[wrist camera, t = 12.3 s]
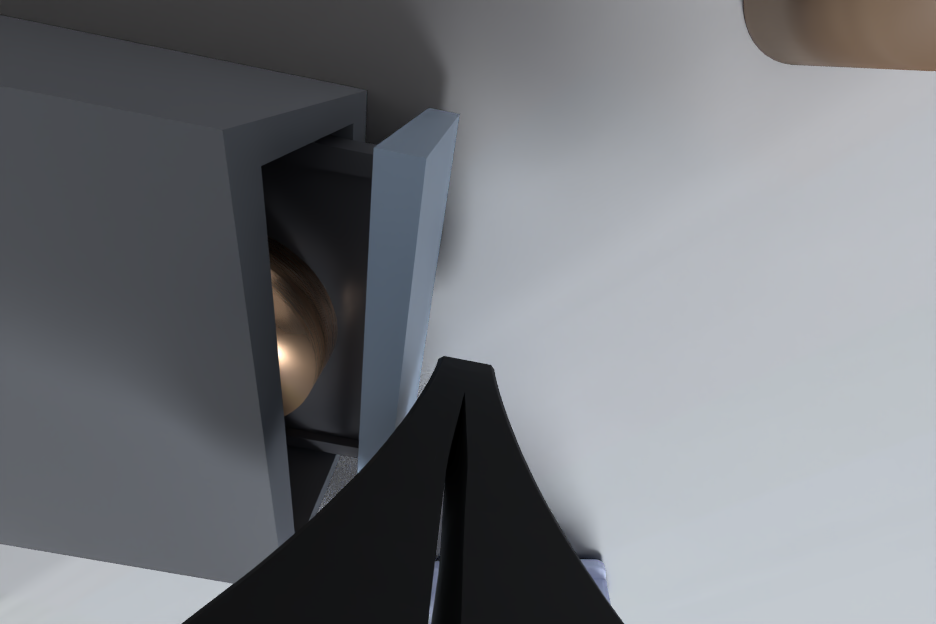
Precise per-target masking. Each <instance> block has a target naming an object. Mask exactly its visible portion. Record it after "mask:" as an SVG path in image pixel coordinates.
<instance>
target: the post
mask: <svg viewBox="0 0 936 624" xmlns="http://www.w3.org/2000/svg"><path fill="white" fill-rule="evenodd" d="M744 15H745V21H746V25H747V28H748V31H749V34H750V36H751V38H752V40H753V42H754V43H755V44H756V46H757V47H758V48H759V49H760V50H761V51H762V52H763V53H764V54H765V55H767V56H768V57H770V58H772V59H773V60H776V61H778V62H781V63H785V64H790V65H808V66H831V67H853V68H875V69H898V70H920V71H936V0H744Z"/></svg>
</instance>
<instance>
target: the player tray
mask: <svg viewBox="0 0 936 624" xmlns="http://www.w3.org/2000/svg"><path fill="white" fill-rule="evenodd" d="M459 115H460V114H457V113H452V112H448V111H443V110H438V109H433V108H428V109H427V110H425V111H424V112H422V113H421V114H420V115H418V116H417V117H415V118H414V119H413V120H411V121H410V122H409V123H407V124H406V125H404V126H403V127H402V128H400V129H399V130H397V131H396V132H395V133H393V134H392V135H391V136H389V137H388V138H386V139H385V140H384V141H382V142H381V143H379V144H378V145H375V144H370V143H365V142H360V141H355V140H350V139H345V138H340V137H335V136H330V135H327V136H325V137H322V138H320V139H318V140H316V141H314V142H312V143H310V144H307V145H305V146H303V147H301V148H299V149H297V150H295V151H292V152H290V153H288V154H286V155H284V156H282V157H280V158H277V159H275V160H273V161H271V162H269V163H267V164H265V165H262V166H261V171H262V182H263V193H264V204H265V215H266V225H267V236H269V237H271V238H272V239H274V240H276V241H277V242H279V243H281V244H282V245H284V246H285V247H287V248H288V249H289V250H291V251H292V252H293V253H294V254H296V255H297V256H298V257H299V258H300V259H301V260H302V261H303V262H304V263H306V264H307V265H308V267H309V268H310V269H311V270H312V271H313V272H314V273H315V275H316V276H317V277H318V279H319V280H320V282H321V283H322V284H323V286H324V288H325V289H326V291H327V293H328V295H329V297H330V299H331V302H332V304H333V307H334V310H335V314H336V318H337V329H338V330H337V340H336V344H335V348H334V350H333V353H332V355H331V357H330V359H329V360H328V362H327V364H326V365H325V367H324V369H323V371H322V372H321V374H320V376H319V377H318V379H317V381H316V383H315V384H314V386H313V388H312V389H311V391H310V393H309V395H308V396H307V398H306V399H305V400H304V402H303V403H302V404H301V405H300V406H299V407H298V408H297V409H295V410H294V411H292V412H291V413H289V414H288V415H286V416H284V422H285V433H286V444H287V445H288V446H294V447H299V448H305V449H310V450H316V451H322V452H327V453H333V454H338V455H344V456H349V457H355V458H358V471H357V474H358V473H359V471H360V470H361V469H362V468H363V467H364V466H365V465H366V464H367V463H368V462H369V461H370V460H371V458H372V457H373V456H374V455H375V454H376V453H377V452H378V450H379V449H380V448H381V447H382V446H383V444H384V443H385V442H386V441H387V439H388V438H389V437H390V436H391V434H392V433H393V432H394V431H395V429H396V428H397V427H398V426H399V424H400V423H401V422H402V420H403V419H404V418H405V416H406V415H407V414H408V412H409V411H410V409H411V408H412V406H413V405H414V403H415V402H416V400H417V395H418V388H419V381H420V375H421V368H422V362H423V355H424V348H425V342H426V335H427V328H428V322H429V315H430V308H431V302H432V295H433V288H434V282H435V275H436V268H437V262H438V255H439V248H440V242H441V235H442V228H443V222H444V215H445V208H446V202H447V195H448V188H449V182H450V175H451V169H452V162H453V155H454V149H455V142H456V135H457V129H458V122H459Z"/></svg>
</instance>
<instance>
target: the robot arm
mask: <svg viewBox="0 0 936 624" xmlns="http://www.w3.org/2000/svg"><path fill="white" fill-rule="evenodd" d="M444 482H445V484H444ZM443 490H444V501H443V517H442V534H441V551H440V561H435V557H436V548H437V540H438V531H439V523H440V515H441V506H442V498H443ZM429 614H430V617H429ZM428 620H429V624H624V623H623V622H622V620H621V619H620V617H619V616H618V615H617V613H616V612H615V611H614V609H613V608H612V606H611V604H610V598H609V593H608V588H607V583H606V571H605V565H604V563H603V562H601V561H600V560H596V559H579V557H578V556H577V554H576V553H575V551H574V550H573V548H572V546H571V545H570V543H569V542H568V540H567V538H566V536H565V535H564V533H563V531H562V530H561V528H560V526H559V525H558V523H557V521H556V520H555V518H554V516H553V514H552V512H551V511H550V509H549V507H548V505H547V503H546V501H545V500H544V498H543V496H542V494H541V492H540V490H539V488H538V486H537V484H536V482H535V480H534V478H533V476H532V474H531V472H530V470H529V467H528V465H527V463H526V461H525V459H524V457H523V454H522V452H521V450H520V447H519V445H518V443H517V440H516V437H515V435H514V432H513V430H512V427H511V425H510V422H509V419H508V417H507V414H506V411H505V408H504V405H503V402H502V399H501V396H500V392H499V389H498V385H497V381H496V377H495V372H494V369H493V367H492V366H491V365H488V364H483V363H477V362H472V361H467V360H462V359H457V358H451V357H446V356H443V357H441V358H439V359H438V362H437V365H436V367H435V370H434V372H433V374H432V376H431V378H430V379H429V381H428V383H427V385H426V386H425V388H424V390H423V391H422V393H421V395H420V396H419V398H418V399H417V400H416V402H415V403H414V405H413V406H412V408H411V409H410V411H409V412H408V414H407V415H406V416H405V418H404V419H403V420H402V422H401V423H400V424H399V426H398V427H397V428H396V429H395V431H394V432H393V433H392V434H391V436H390V437H389V438H388V439H387V441H386V442H385V443H384V444H383V446H382V447H381V448H380V449H379V450H378V452H377V453H376V454H375V455H374V456H373V457H372V458H371V460H370V461H369V462H368V463H367V464H366V465H365V466H364V467H363V468H362V469H361V470H360V471H359V473H358V474H357V475H356V476H355V477H354V478H353V479H352V480H351V481H350V482H349V483H348V484H347V485H346V486H345V487H344V488H343V489H342V490H341V491H340V492H339V493H338V494H337V495H336V496H335V497H334V498H333V499H332V500H331V501H330V502H329V503H328V504H327V505H326V506H325V507H324V508H323V509H321V510H320V511H319V512H318V513H317V514H316V515H315V516H314V517H313V518H312V519H311V520H310V521H308V522H307V523H306V524H305V525H304V526H303V527H302V528H300V529H299V530H298V531H297V532H296V533H295V534H293V535H292V536H291V537H290V538H289V539H288V540H286V541H285V542H284V543H283V544H282V545H281V546H279V547H278V548H277V549H276V550H275V551H274V552H272V553H271V554H270V555H269V556H268V557H267V558H265V559H264V560H263V561H262V562H261V563H259V564H258V565H257V566H256V567H254V568H253V569H252V570H251V571H250V572H248V573H247V574H246V575H244V576H243V577H242V578H240V579H239V580H238V581H237V582H235V583H234V584H233V585H231V586H230V587H229V588H227V589H226V590H225V591H223V592H222V593H221V594H220V595H218V596H217V597H216V598H214V599H213V600H212V601H210V602H209V603H208V604H207V605H205V606H204V607H203V608H201V609H200V610H199V611H197V612H196V613H195V614H194V615H192V616H191V617H190V618H188V619H187V620H186V621H184V622H183V623H182V624H428Z"/></svg>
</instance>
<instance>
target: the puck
mask: <svg viewBox="0 0 936 624" xmlns="http://www.w3.org/2000/svg"><path fill="white" fill-rule="evenodd" d="M268 247H269V258H270V269H271V280H272V291H273V302H274V313H275V324H276V335H277V346H278V357H279V368H280V378H281V389H282V400H283V411H284V416H286V415H288V414H289V413H291V412H292V411H294V410H295V409H297V408H298V407H299V406H300V405H301V404H302V403H303V402H304V400H305V399H306V398H307V396H308V395H309V393H310V391H311V389H312V388H313V386H314V384H315V383H316V381H317V379H318V377H319V376H320V374H321V372H322V371H323V369H324V367H325V365H326V364H327V362H328V360H329V359H330V357H331V355H332V353H333V350H334V348H335V344H336V340H337V330H338V329H337V318H336V314H335V310H334V307H333V304H332V302H331V299H330V297H329V295H328V293H327V291H326V289H325V288H324V286H323V284H322V283H321V282H320V280H319V279H318V277H317V276H316V275H315V273H314V272H313V271H312V270H311V269H310V268H309V267H308V265H307V264H306V263H304V262H303V261H302V260H301V259H300V258H299V257H298V256H297V255H296V254H294V253H293V252H292V251H291V250H289V249H288V248H287V247H285V246H284V245H282V244H281V243H279V242H277V241H276V240H274V239H272V238H271V237H269V236H268Z"/></svg>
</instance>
